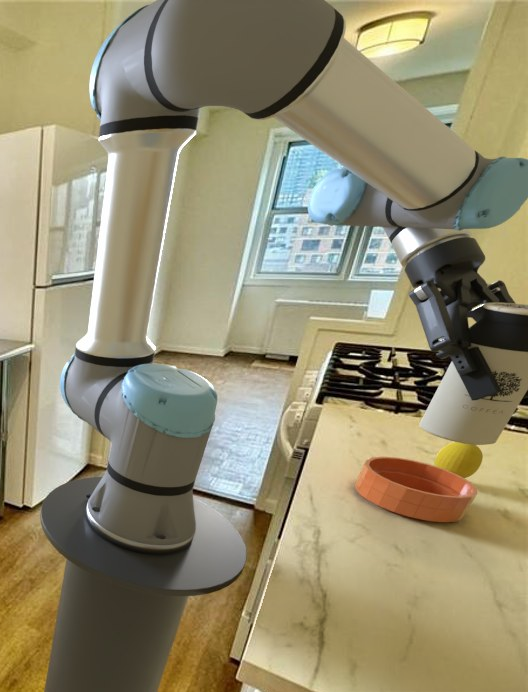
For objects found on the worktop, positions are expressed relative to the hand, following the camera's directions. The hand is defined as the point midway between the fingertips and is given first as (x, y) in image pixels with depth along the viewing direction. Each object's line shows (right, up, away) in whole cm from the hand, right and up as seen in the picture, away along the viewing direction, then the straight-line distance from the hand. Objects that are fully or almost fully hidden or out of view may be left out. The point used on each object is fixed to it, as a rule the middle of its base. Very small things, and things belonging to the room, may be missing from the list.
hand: (512, 394), depth 63 cm
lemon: (+17, -13, +24) cm, 33 cm away
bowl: (+3, -16, +18) cm, 24 cm away
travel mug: (-1, -5, +6) cm, 8 cm away
